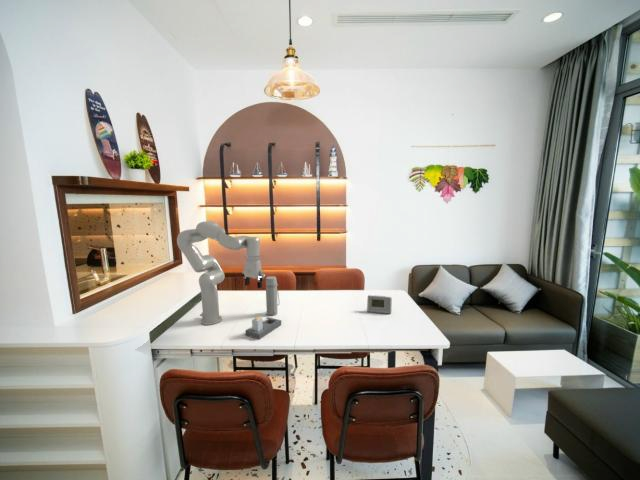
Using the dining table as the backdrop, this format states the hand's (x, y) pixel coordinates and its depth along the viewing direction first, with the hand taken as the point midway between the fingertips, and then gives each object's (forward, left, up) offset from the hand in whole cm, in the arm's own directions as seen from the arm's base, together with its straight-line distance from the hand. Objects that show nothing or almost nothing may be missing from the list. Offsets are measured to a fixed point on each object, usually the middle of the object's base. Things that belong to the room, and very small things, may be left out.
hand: (253, 286), depth 162 cm
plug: (+8, -7, -25) cm, 27 cm away
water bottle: (-2, +20, -25) cm, 32 cm away
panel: (+8, -2, -25) cm, 26 cm away
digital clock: (+61, +54, -25) cm, 85 cm away
